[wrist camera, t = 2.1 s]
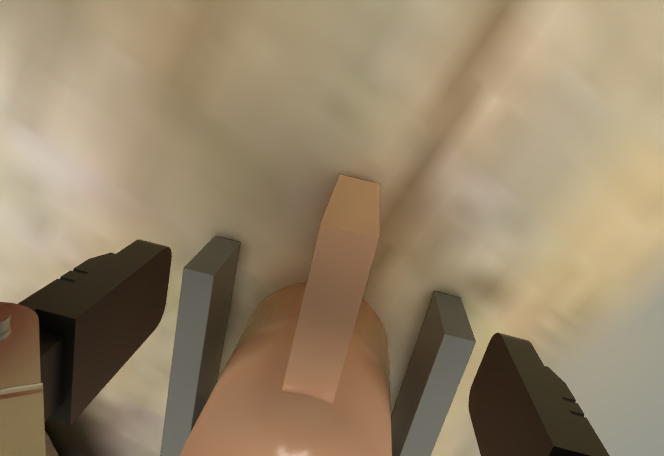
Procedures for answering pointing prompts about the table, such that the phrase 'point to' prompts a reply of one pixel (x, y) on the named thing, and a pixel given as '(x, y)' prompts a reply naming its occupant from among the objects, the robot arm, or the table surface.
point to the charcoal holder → (208, 338)
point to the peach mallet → (310, 354)
